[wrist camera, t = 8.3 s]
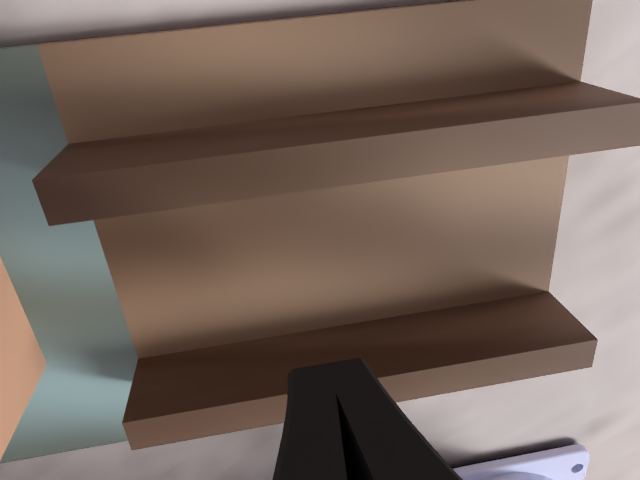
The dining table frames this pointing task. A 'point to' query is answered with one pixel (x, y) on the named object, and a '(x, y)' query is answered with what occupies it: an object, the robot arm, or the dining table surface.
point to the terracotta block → (15, 360)
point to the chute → (292, 210)
